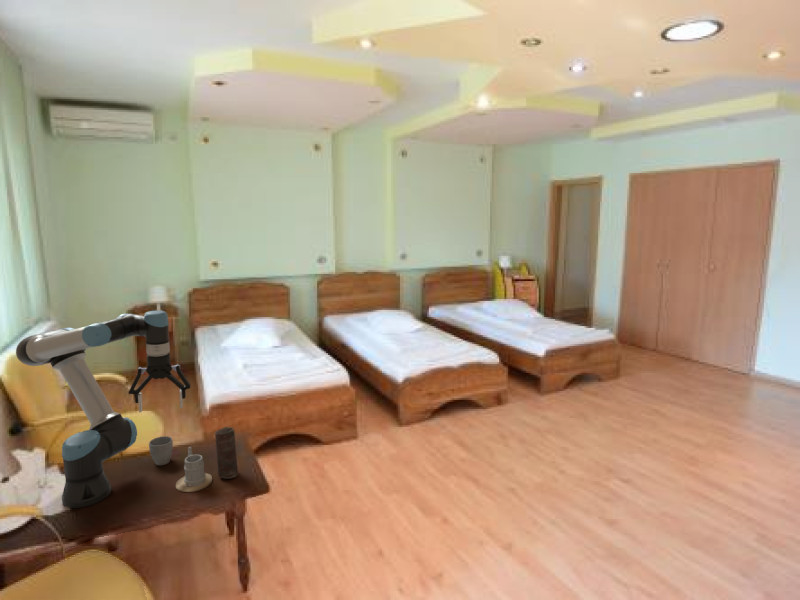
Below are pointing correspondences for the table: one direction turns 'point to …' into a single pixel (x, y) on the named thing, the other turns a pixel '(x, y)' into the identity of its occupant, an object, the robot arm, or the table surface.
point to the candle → (226, 453)
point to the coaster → (183, 488)
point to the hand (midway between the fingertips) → (161, 408)
